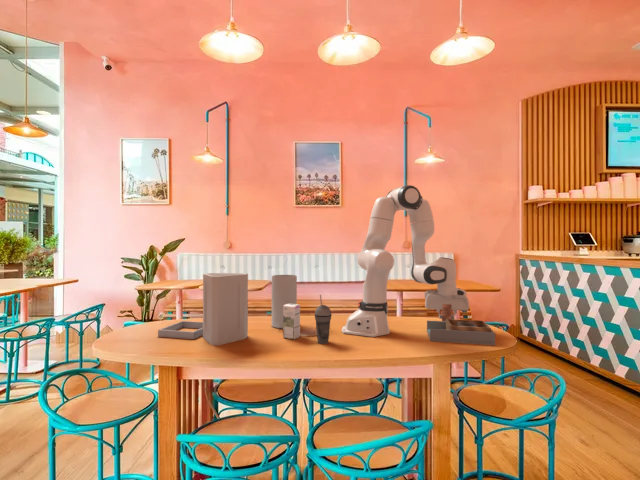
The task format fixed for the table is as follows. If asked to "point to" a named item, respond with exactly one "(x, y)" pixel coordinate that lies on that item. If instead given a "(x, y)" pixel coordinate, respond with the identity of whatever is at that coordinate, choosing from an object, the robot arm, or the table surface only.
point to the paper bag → (225, 307)
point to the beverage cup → (323, 323)
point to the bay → (458, 334)
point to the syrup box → (291, 321)
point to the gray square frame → (171, 332)
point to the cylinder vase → (282, 296)
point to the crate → (467, 325)
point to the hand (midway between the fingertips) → (446, 318)
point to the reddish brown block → (446, 312)
